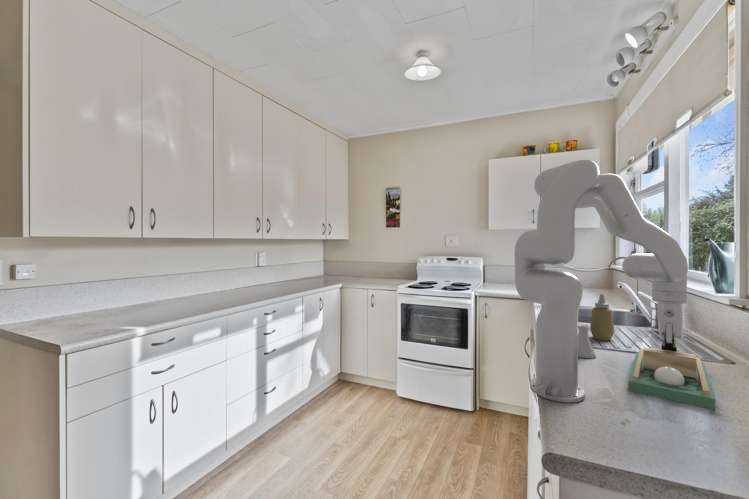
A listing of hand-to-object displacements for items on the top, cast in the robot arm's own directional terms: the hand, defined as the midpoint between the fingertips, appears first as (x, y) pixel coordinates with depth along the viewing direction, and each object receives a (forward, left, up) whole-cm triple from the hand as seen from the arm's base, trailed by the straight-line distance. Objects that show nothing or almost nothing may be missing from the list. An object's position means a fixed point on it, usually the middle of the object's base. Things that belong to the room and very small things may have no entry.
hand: (669, 359), depth 96 cm
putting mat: (-4, 0, -5) cm, 6 cm away
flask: (+5, +22, -5) cm, 23 cm away
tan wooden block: (-4, 0, -2) cm, 5 cm away
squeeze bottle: (+32, +20, -5) cm, 38 cm away
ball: (-12, 0, -2) cm, 12 cm away
